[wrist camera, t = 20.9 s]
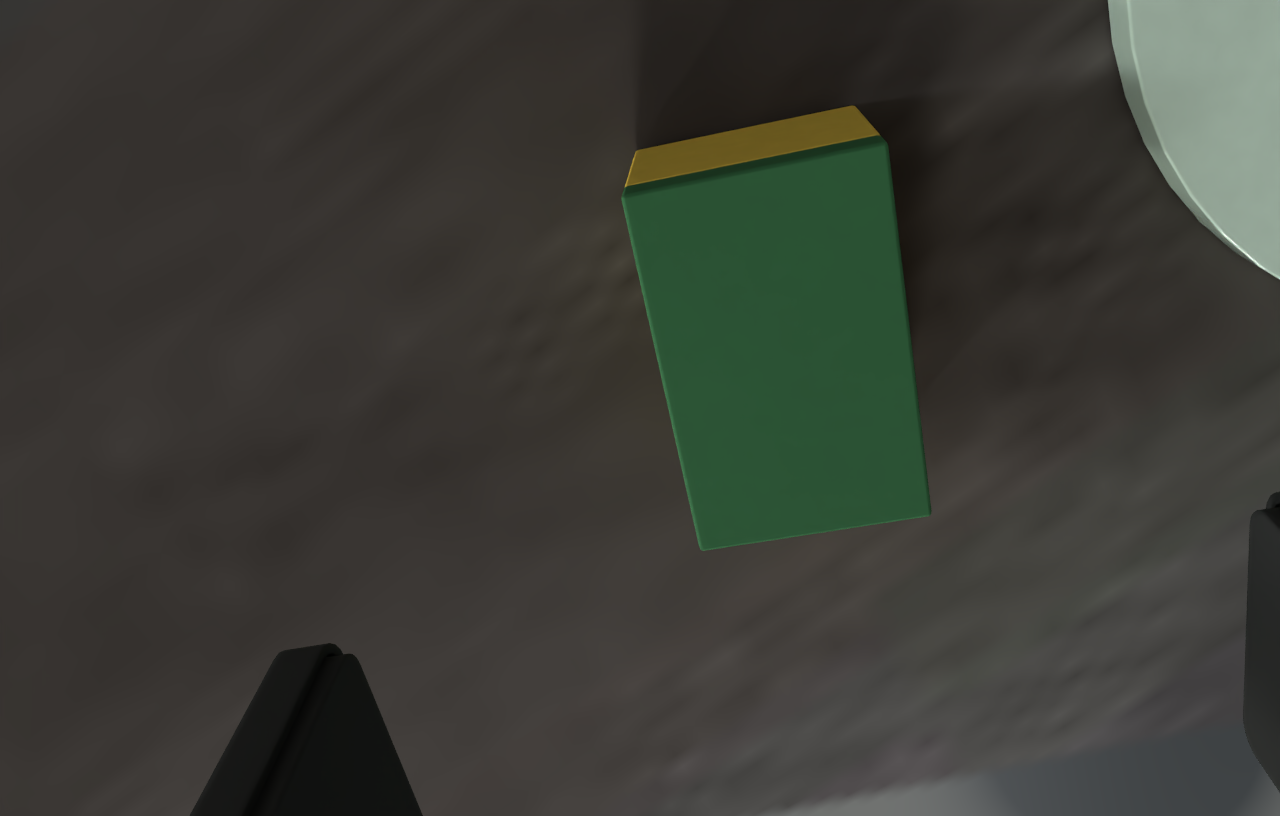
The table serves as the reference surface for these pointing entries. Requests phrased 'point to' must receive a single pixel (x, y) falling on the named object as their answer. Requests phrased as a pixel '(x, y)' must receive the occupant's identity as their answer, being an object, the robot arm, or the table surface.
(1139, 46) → the plate
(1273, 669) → the robot arm
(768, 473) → the sponge
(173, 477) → the table surface
